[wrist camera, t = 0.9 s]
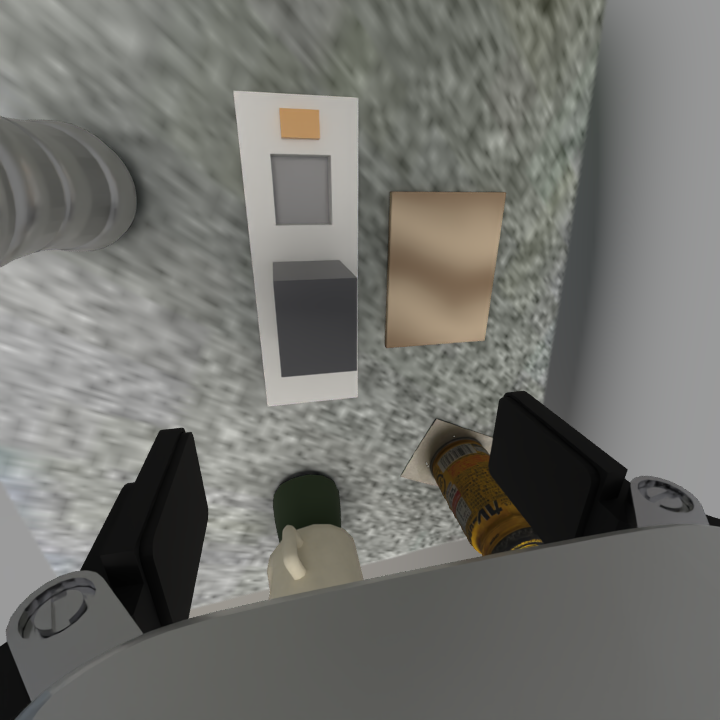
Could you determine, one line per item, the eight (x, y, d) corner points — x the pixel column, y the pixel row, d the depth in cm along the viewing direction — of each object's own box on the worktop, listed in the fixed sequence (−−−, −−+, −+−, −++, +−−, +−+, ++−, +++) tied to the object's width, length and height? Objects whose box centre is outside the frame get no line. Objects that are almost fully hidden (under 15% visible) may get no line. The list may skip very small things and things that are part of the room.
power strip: (237, 102, 23) (232, 88, 20) (349, 107, 25) (360, 95, 22) (268, 388, 31) (267, 410, 28) (350, 380, 33) (359, 400, 30)
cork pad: (390, 191, 27) (392, 191, 27) (502, 192, 29) (506, 192, 29) (384, 345, 32) (386, 347, 32) (481, 338, 34) (484, 340, 33)
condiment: (464, 492, 41) (532, 597, 31) (400, 475, 38) (449, 584, 28) (500, 439, 39) (586, 531, 29) (435, 417, 36) (503, 510, 26)
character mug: (246, 469, 34) (233, 612, 23) (318, 438, 35) (343, 563, 23) (294, 544, 39) (303, 692, 27) (357, 516, 39) (394, 651, 28)
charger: (272, 259, 26) (273, 281, 19) (336, 257, 27) (357, 277, 20) (279, 335, 28) (281, 377, 22) (337, 331, 29) (356, 370, 22)
